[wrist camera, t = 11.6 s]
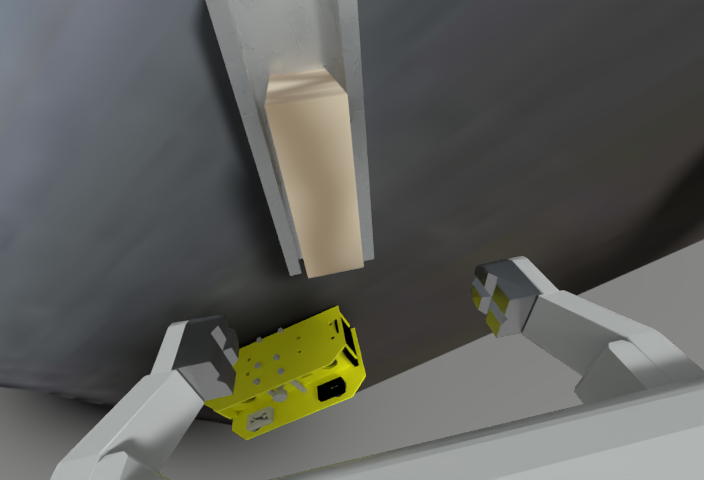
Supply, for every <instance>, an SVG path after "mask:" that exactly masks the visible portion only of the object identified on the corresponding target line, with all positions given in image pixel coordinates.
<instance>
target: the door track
mask: <svg viewBox="0 0 704 480" xmlns="http://www.w3.org/2000/svg"><path fill="white" fill-rule="evenodd" d="M205 1H206V4H207V7H208V10H209V14H210V17H211V20H212V23H213V27H214V30H215V33H216V36H217V40H218V43H219V46H220V49H221V53H222V56H223V59H224V62H225V66H226V69H227V72H228V75H229V79H230V82H231V85H232V88H233V92H234V95H235V98H236V101H237V105H238V108H239V111H240V114H241V118H242V121H243V124H244V127H245V131H246V134H247V137H248V140H249V144H250V147H251V150H252V153H253V157H254V160H255V163H256V166H257V170H258V173H259V176H260V179H261V183H262V186H263V189H264V192H265V196H266V199H267V202H268V205H269V209H270V212H271V215H272V218H273V222H274V225H275V228H276V231H277V235H278V238H279V241H280V244H281V248H282V251H283V254H284V257H285V261H286V264H287V267H288V270H289V274H290V276H292V275H297V274H302V272H301V261H300V259H302V258H303V256H302V252H301V248H300V244H299V240H298V236H297V232H296V228H295V224H294V220H293V216H292V212H291V209H290V205H289V201H288V197H287V193H286V189H285V185H284V181H283V177H282V173H281V169H280V165H279V161H278V157H277V154H276V150H275V146H274V142H273V138H272V134H271V130H270V126H269V122H268V118H267V114H266V110H265V100H266V94H267V88H268V82H269V76H273V75H281V74H288V73H295V72H303V71H310V70H317V69H326V70H327V71H328V73H329V74H330V75H331V76H332V77H333V78H334V79H335V80H336V82H337V83H338V84H339V85H340V86H341V87H342V88H343V90H344V91H345V92H346V93H347V95H348V105H349V116H350V127H351V137H352V148H353V159H354V169H355V180H356V191H357V201H358V212H359V223H360V233H361V244H362V255H363V261H366V260H371V259H374V249H373V234H372V219H371V204H370V188H369V173H368V158H367V143H366V128H365V113H364V98H363V83H362V68H361V53H360V38H359V23H358V7H357V0H205Z"/></svg>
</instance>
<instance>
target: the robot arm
mask: <svg viewBox="0 0 704 480" xmlns="http://www.w3.org/2000/svg"><path fill="white" fill-rule="evenodd" d="M474 274H475V275H476V277H477V278H476V279H475V280H474V282H473V283H472V287H471V294H472V299H473V301H474V304H475V305H476V307H477V308H478V310H479V311H481V312H483V313H485V314H486V322H487V324H488V325H489V327H490V329H491V330H492V332H493V333H494V335H495V336H496V338H498V337H503V336H509V335H513V334H519V333H522V335H523V336H525V337H526V338H528V339H529V340H531V341H532V342H534V343H535V344H536V345H538V346H539V347H541V348H542V349H544V350H545V351H547V352H548V353H550V354H551V355H553V356H554V357H555V358H557V359H558V360H560V361H561V362H563V363H564V364H566V365H567V366H569V367H570V368H571V369H573V370H574V371H576V372H577V373H579V374H580V375H582V376H583V377H582V379H581V380H580V381H579V383H578V384H577V385H576V386H575V391H574V392H575V393H576V395H577V396H578V397H579V399H580V400H581V401H582V403H583V405H579V406H575V407H571V408H566V409H562V410H558V411H554V412H549V413H546V414H541V415H537V416H533V417H528V418H524V419H521V420H516V421H512V422H508V423H503V424H499V425H495V426H491V427H487V428H483V429H479V430H474V431H470V432H466V433H462V434H458V435H454V436H449V437H445V438H441V439H437V440H433V441H429V442H425V443H421V444H416V445H412V446H408V447H403V448H400V449H395V450H391V451H387V452H383V453H379V454H375V455H370V456H366V457H362V458H358V459H353V460H350V461H345V462H341V463H337V464H333V465H328V466H325V467H320V468H316V469H312V470H308V471H303V472H300V473H295V474H291V475H287V476H283V477H279V478H274V479H270V480H704V370H703V369H701V368H700V367H699V366H698V365H697V364H696V363H694V362H693V361H692V360H691V359H690V358H689V357H687V356H686V355H685V354H684V353H683V352H682V351H680V350H679V349H678V348H677V347H676V346H675V345H673V344H672V343H671V342H670V341H669V340H668V339H667V338H665V337H664V336H663V335H662V334H661V333H660V332H658V331H657V330H655V329H652V328H650V327H648V326H645V325H643V324H641V323H638V322H636V321H634V320H631V319H629V318H627V317H625V316H622V315H620V314H617V313H615V312H613V311H611V310H608V309H606V308H604V307H601V306H599V305H597V304H594V303H592V302H590V301H588V300H585V299H583V298H581V297H578V296H576V295H574V294H572V293H569V292H567V291H565V290H562V291H559V290H558V289H557V288H556V287H555V286H554V285H553V284H552V283H551V282H550V281H549V280H548V279H547V278H546V277H545V276H544V275H543V274H542V273H541V272H540V271H539V270H538V269H537V268H536V267H535V266H534V265H533V264H532V263H531V262H530V261H529V260H528V259H527V258H526V257H524V256H520V257H515V258H510V259H504V260H499V261H494V262H489V263H484V264H479V265H478V266H477V267H476V269H475V273H474ZM238 357H239V341H238V337H237V334H236V332H235V330H234V329H231V328H229V319H228V318H227V316H226V315H225V314H221V315H215V316H209V317H203V318H197V319H191V320H187V321H181V322H175V323H172V324H171V325H170V326H169V327H168V329H167V332H166V334H165V337H164V339H163V342H162V345H161V347H160V350H159V353H158V355H157V358H156V361H155V363H154V366H153V369H152V371H151V374H150V375H147V376H144V377H143V378H142V379H141V380H140V381H139V382H138V383H137V384H136V385H135V386H134V387H133V388H132V389H131V390H130V391H129V392H128V393H127V394H126V395H125V396H124V397H123V398H122V399H121V400H120V402H119V403H118V404H117V405H116V406H115V407H114V408H113V409H112V410H111V411H110V412H109V413H108V414H107V415H106V416H105V417H104V418H103V419H102V420H101V421H100V422H99V423H98V424H97V425H96V426H95V427H94V428H93V429H92V430H91V431H90V432H89V433H88V434H87V435H86V436H85V437H84V438H83V439H82V440H81V441H80V442H79V443H78V444H77V445H76V446H75V447H74V448H73V449H72V450H71V451H70V452H69V453H68V454H67V455H66V456H65V457H64V458H63V459H62V460H61V461H60V463H59V464H58V465H57V467H56V469H55V471H54V473H53V475H52V477H51V479H50V480H169V479H168V478H166V477H165V476H163V475H162V474H160V473H159V472H160V471H161V469H162V468H163V466H164V464H165V463H166V461H167V460H168V458H169V457H170V455H171V454H172V452H173V451H174V449H175V448H176V446H177V444H178V443H179V442H180V440H181V438H182V437H183V435H184V434H185V432H186V431H187V429H188V428H189V426H190V425H191V423H192V422H193V420H194V418H195V417H196V415H197V414H198V412H199V411H200V409H201V408H202V406H203V405H204V401H207V400H211V399H216V398H220V397H224V396H228V395H232V394H233V393H234V386H235V379H236V371H235V370H234V368H233V365H234V364H235V363H236V362H237V360H238Z"/></svg>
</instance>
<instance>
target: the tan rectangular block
mask: <svg viewBox="0 0 704 480" xmlns="http://www.w3.org/2000/svg"><path fill="white" fill-rule="evenodd" d="M265 110H266V114H267V118H268V122H269V126H270V130H271V134H272V138H273V142H274V146H275V150H276V154H277V157H278V161H279V165H280V169H281V173H282V177H283V181H284V185H285V189H286V193H287V197H288V201H289V205H290V209H291V212H292V216H293V220H294V224H295V228H296V232H297V236H298V240H299V244H300V248H301V252H302V256H303V260H304V264H305V267H306V271H307V275H308V278H312V277H317V276H322V275H327V274H332V273H337V272H342V271H347V270H352V269H357V268H362V267H364V265H363V255H362V244H361V233H360V223H359V212H358V201H357V191H356V180H355V169H354V159H353V148H352V137H351V127H350V116H349V105H348V95H347V93H346V92H345V91H344V90H343V88H342V87H341V86H340V85H339V84H338V83H337V82H336V80H335V79H334V78H333V77H332V76H331V75H330V74H329V73H328V71H327V70H326V69H317V70H310V71H303V72H295V73H288V74H281V75H273V76H269V82H268V88H267V94H266V100H265Z"/></svg>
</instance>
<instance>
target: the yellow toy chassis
mask: <svg viewBox="0 0 704 480" xmlns="http://www.w3.org/2000/svg"><path fill="white" fill-rule="evenodd" d="M349 327H350V325H349V323H348V322H347V321H346V319H345V318H344V317H343V315H342V314H341V313H340V311H339V307H338V306H335V307H333V308H331V309H329V310H326V311H324V312H322V313H320V314H317V315H315V316H313V317H311V318H308V319H306V320H304V321H302V322H299V323H297V324H295V325H293V326H290V327H288V328H286V329H282V328H279V329H278V332H277V333H275V334H272V335H270V336H268V337H265V338H263V339H262V338H261V337H258V338H257V340H256V342H254V343H252V344H250V345H247V346H245V347H243V348H241V349H239V357H238V360H237V362H236V363H235V364H234V365H233V368H234V370H235V371H236V379H235V386H234V393H233V394H232V395H228V396H224V397H220V398H216V399H211V400H207V401H205V402H204V405H206V406H208V407H210V408H212V409H213V410H214V411H215V412H217V413H219V414H221V415H223V416H224V417H226V418H228V419H232V418H233V423H232V431H233V432H235V433H236V434H238V435H239V436H240V437H242V438H244V439H245V440H249V439H251V438H254V437H256V436H258V435H261V434H263V433H266V432H268V431H271V430H273V429H276V428H278V427H280V426H283V425H285V424H288V423H290V422H293V421H295V420H297V419H300V418H302V417H305V416H307V415H310V414H312V413H314V412H317V411H319V410H322V409H324V408H327V407H329V406H332V405H334V404H336V403H339V402H341V401H344V400H346V399H348V398H351V397H353V395H354V394H355V393H356V391H357V389H358V388H359V386H360V385H361V383H362V381H363V380H364V378H365V377H366V374H365V369H364V365H363V361H362V357H361V353H360V349H359V345H358V340H357V336H356V332H355V328H352V329H350V328H349ZM299 337H300V339H298V338H299ZM344 381H345V382H346V385H347V388H346V390H345V384H344ZM337 385H338V387H335V386H337ZM332 388H333V389H332ZM343 393H344V394H343ZM340 394H343V395H342V396H341V397H335V396H338V395H340ZM261 417H262V418H263V420H262V418H261ZM254 420H255V421H254ZM253 421H254V422H253ZM260 427H261V428H260ZM258 428H260V429H259V430H258V431H256V432H252V431H253V430H255V429H258Z"/></svg>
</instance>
